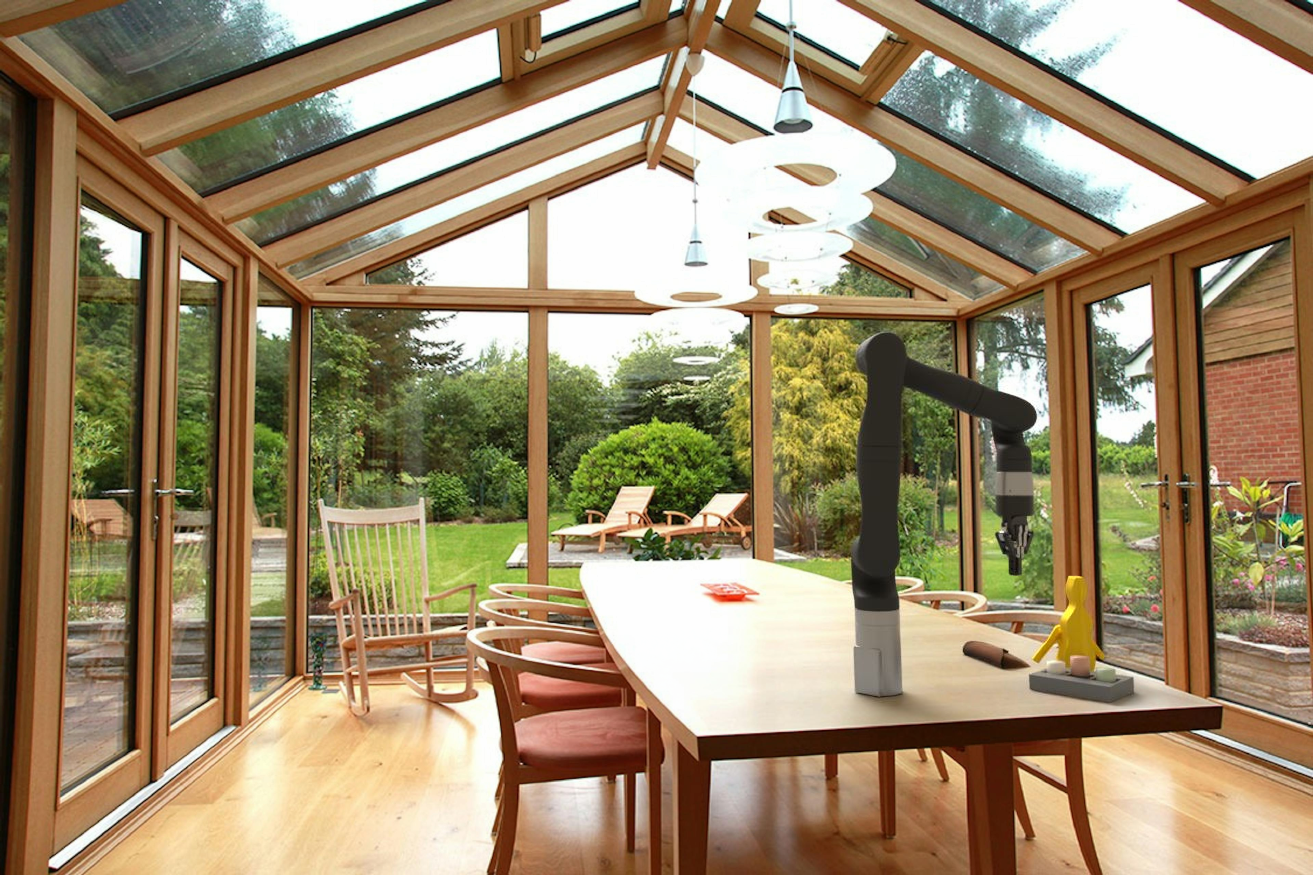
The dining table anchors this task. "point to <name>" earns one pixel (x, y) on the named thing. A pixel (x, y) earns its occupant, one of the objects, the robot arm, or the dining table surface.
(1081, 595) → the figure statuette
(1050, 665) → the ivory button
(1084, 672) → the terracotta button
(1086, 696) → the button box
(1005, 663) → the sunglasses case
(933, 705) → the dining table surface
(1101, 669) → the sage button
